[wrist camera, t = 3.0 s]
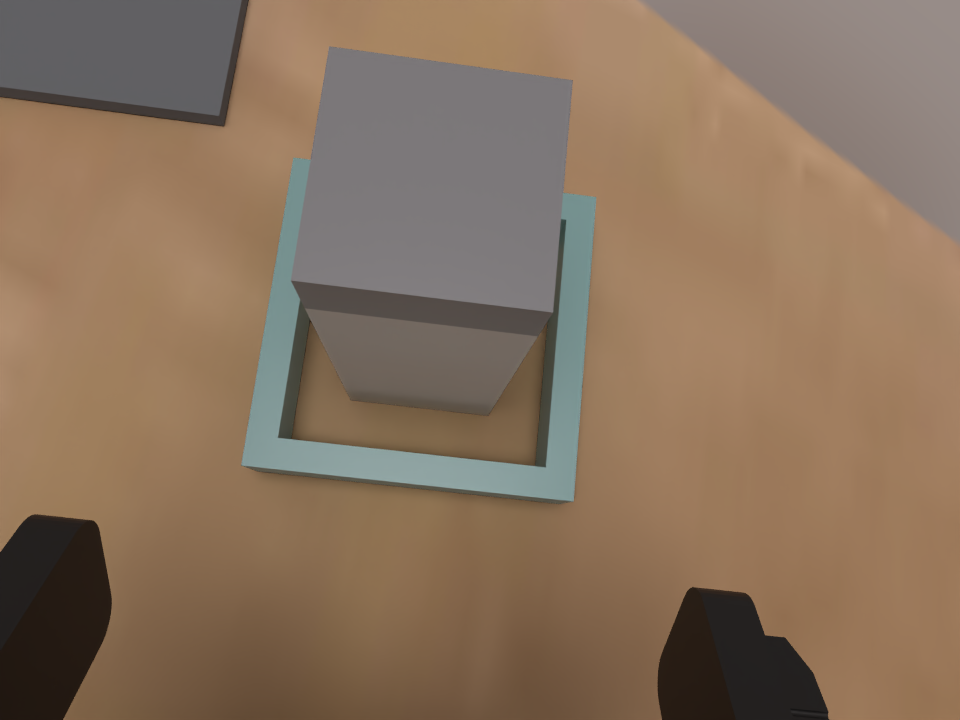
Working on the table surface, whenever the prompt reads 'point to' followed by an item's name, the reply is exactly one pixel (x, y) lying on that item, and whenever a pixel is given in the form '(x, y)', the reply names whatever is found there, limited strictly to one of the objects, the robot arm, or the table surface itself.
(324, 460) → the collar
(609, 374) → the table surface
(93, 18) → the plate
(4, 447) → the table surface
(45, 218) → the table surface
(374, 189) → the plug
